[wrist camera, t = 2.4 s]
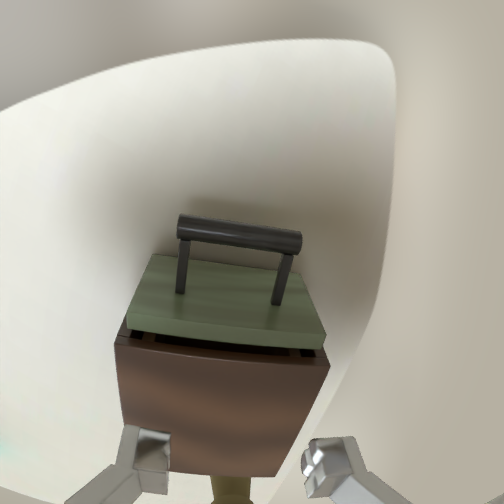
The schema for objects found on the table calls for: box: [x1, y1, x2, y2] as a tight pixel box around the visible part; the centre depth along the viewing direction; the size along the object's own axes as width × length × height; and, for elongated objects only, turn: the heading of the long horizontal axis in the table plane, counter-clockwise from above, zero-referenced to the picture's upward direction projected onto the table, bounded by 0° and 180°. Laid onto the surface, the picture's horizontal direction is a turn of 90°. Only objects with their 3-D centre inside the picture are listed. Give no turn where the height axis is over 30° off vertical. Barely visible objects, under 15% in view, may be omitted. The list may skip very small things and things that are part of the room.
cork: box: [210, 476, 253, 504], centre depth 31 cm, size 6×6×11 cm
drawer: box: [127, 214, 326, 357], centre depth 23 cm, size 18×11×8 cm, turn 169°
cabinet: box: [114, 313, 331, 477], centre depth 24 cm, size 15×13×10 cm
